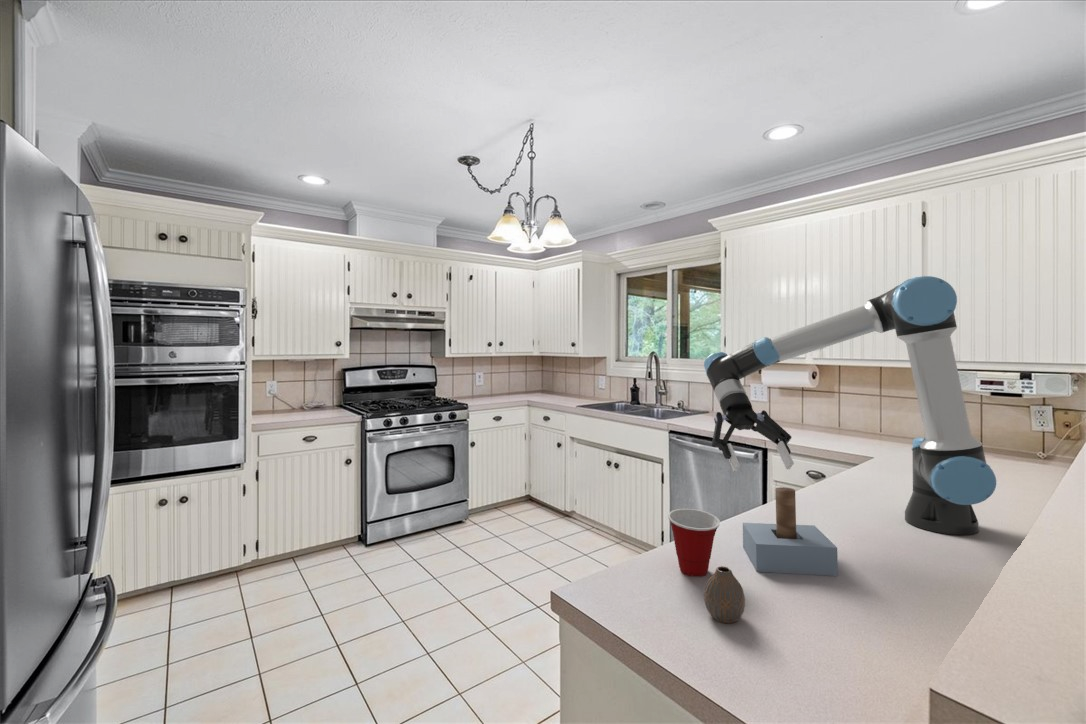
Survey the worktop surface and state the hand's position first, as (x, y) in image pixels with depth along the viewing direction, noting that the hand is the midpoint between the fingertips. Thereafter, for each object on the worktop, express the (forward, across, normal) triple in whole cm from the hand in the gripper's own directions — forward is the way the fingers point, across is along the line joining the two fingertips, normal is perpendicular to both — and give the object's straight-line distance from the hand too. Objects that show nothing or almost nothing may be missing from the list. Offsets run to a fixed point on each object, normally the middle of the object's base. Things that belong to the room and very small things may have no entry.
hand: (763, 467), depth 119 cm
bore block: (+20, 0, -7) cm, 21 cm away
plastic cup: (+21, +22, -6) cm, 31 cm away
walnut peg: (+19, 0, -6) cm, 20 cm away
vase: (+34, +24, +7) cm, 43 cm away
